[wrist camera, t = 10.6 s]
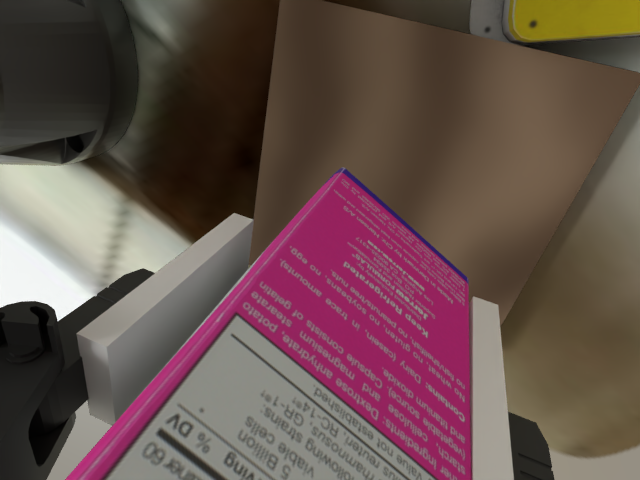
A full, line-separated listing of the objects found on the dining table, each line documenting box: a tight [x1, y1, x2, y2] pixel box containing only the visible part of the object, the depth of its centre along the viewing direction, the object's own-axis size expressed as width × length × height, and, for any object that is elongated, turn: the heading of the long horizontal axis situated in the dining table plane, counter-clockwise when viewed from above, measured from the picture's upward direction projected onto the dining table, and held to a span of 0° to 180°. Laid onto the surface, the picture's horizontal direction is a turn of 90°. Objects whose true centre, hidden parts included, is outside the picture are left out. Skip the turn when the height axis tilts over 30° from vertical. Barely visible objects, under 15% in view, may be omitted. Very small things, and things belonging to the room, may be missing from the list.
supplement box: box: [65, 167, 472, 480], centre depth 10 cm, size 6×6×12 cm
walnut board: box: [248, 0, 640, 327], centre depth 22 cm, size 16×16×2 cm
